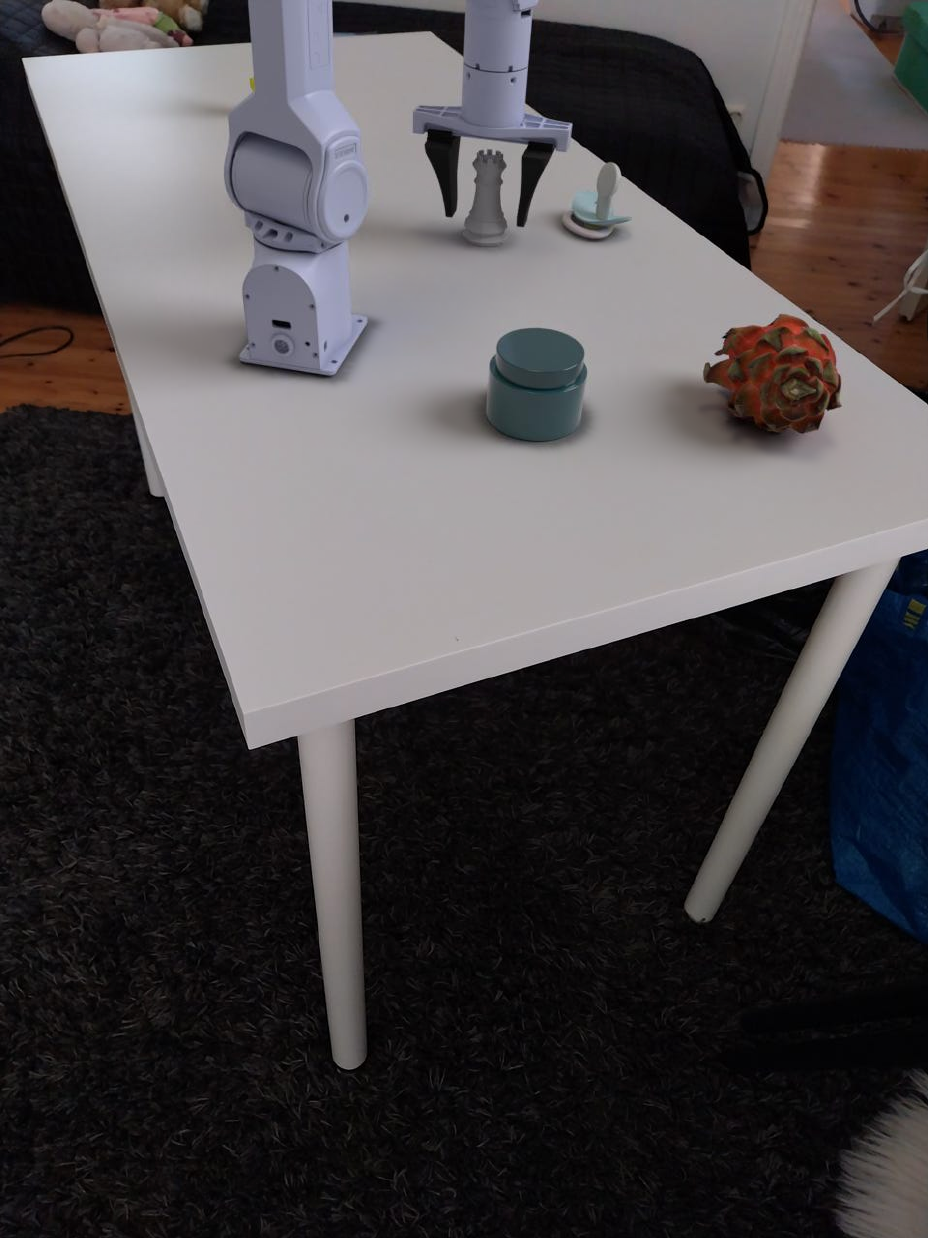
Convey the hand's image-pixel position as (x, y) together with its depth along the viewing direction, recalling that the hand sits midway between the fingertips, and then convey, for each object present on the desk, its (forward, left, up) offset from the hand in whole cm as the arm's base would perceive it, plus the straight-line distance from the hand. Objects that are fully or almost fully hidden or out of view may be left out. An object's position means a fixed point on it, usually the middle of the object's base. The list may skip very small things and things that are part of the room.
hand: (486, 218), depth 94 cm
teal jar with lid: (-30, -10, -2) cm, 32 cm away
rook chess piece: (0, 0, -2) cm, 2 cm away
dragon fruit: (-25, -27, -2) cm, 37 cm away
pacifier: (+6, -10, -2) cm, 12 cm away
